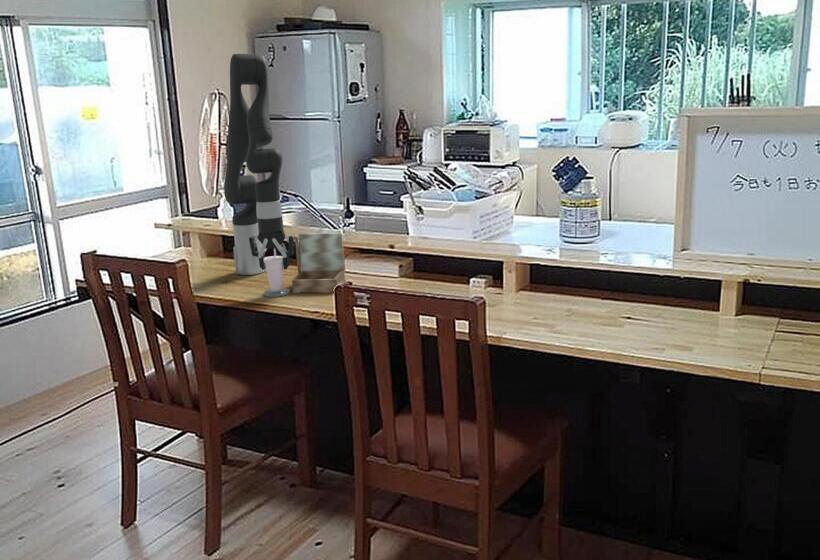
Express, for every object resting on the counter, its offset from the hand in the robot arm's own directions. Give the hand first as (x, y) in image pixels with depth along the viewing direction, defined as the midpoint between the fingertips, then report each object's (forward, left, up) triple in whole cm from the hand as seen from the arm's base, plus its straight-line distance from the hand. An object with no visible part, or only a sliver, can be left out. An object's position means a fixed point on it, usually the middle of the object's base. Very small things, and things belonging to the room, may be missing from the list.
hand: (274, 268), depth 249 cm
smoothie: (0, 0, -6) cm, 6 cm away
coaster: (0, 0, -8) cm, 8 cm away
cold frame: (+12, +6, -8) cm, 16 cm away
